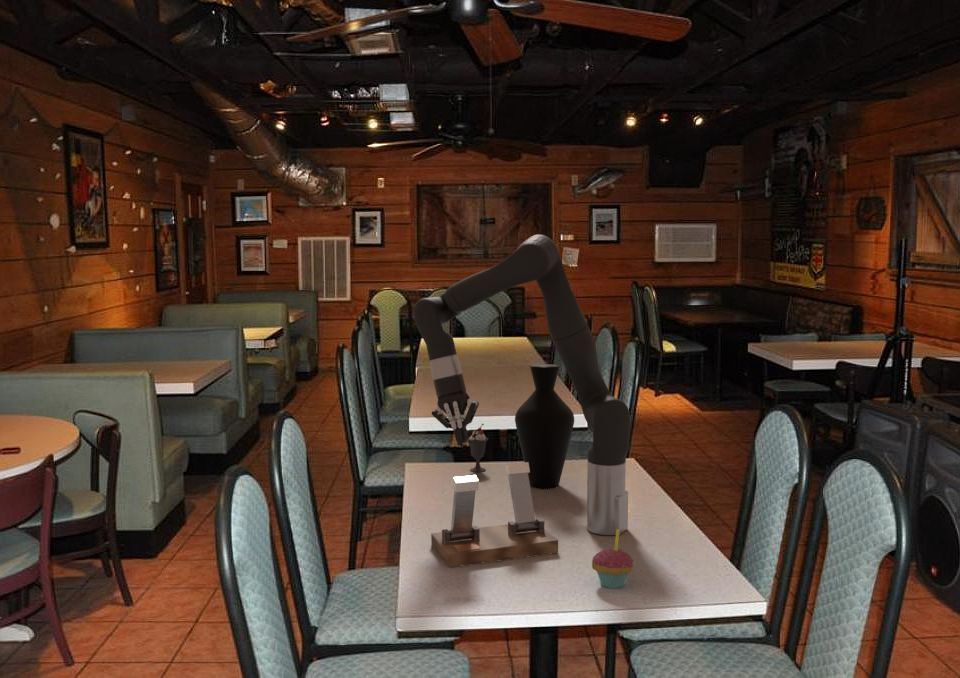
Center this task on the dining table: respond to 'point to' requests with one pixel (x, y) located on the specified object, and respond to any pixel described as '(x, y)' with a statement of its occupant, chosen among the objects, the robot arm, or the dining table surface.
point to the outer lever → (463, 507)
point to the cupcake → (612, 565)
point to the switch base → (494, 544)
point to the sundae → (477, 447)
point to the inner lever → (521, 496)
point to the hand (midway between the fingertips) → (463, 442)
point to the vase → (544, 429)
